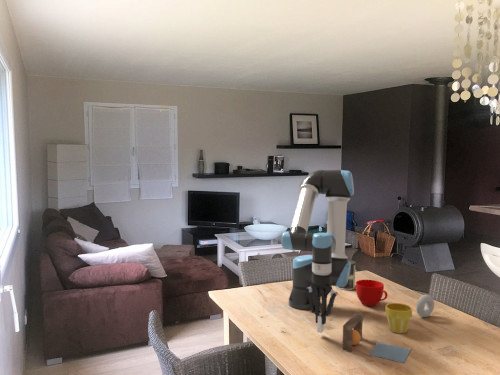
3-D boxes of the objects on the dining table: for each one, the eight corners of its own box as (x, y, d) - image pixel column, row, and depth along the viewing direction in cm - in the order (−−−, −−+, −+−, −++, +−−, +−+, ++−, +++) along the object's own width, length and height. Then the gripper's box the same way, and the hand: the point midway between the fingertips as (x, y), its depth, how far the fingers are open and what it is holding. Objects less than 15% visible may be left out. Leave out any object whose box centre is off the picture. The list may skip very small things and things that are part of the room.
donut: (420, 320, 190) (421, 297, 189) (413, 317, 193) (414, 295, 192) (435, 316, 195) (436, 294, 194) (428, 313, 198) (429, 292, 197)
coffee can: (347, 291, 228) (348, 265, 227) (331, 286, 236) (332, 261, 235) (358, 287, 235) (359, 261, 234) (342, 283, 243) (343, 258, 242)
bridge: (342, 349, 161) (343, 325, 160) (354, 335, 173) (355, 313, 173) (350, 351, 160) (351, 327, 159) (362, 337, 172) (362, 314, 171)
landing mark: (369, 354, 157) (369, 354, 157) (377, 342, 168) (377, 341, 168) (403, 363, 151) (403, 362, 151) (410, 349, 161) (410, 349, 161)
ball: (349, 349, 164) (341, 336, 165) (353, 343, 169) (345, 330, 170) (361, 343, 161) (353, 330, 162) (365, 338, 166) (357, 325, 167)
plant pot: (380, 325, 184) (381, 302, 183) (404, 324, 185) (405, 302, 184) (390, 335, 174) (391, 311, 173) (415, 335, 175) (416, 311, 174)
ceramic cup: (376, 313, 198) (377, 291, 197) (349, 302, 212) (350, 282, 211) (395, 307, 205) (396, 287, 204) (368, 297, 219) (368, 278, 218)
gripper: (302, 272, 171) (301, 331, 173) (334, 277, 164) (332, 338, 166) (309, 268, 178) (308, 324, 179) (340, 272, 171) (339, 331, 173)
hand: (320, 331), depth 173 cm, fingers closed
